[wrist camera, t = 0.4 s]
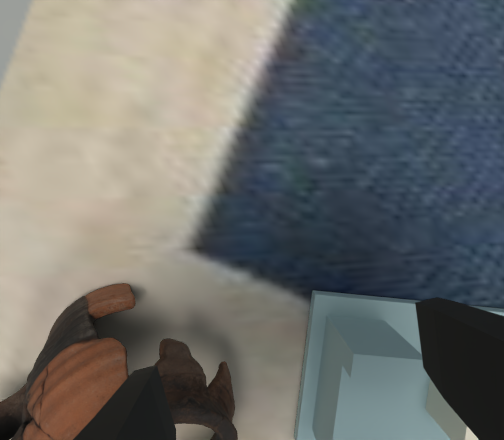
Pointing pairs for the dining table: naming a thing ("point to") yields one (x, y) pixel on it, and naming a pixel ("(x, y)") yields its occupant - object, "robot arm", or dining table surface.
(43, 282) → the dining table surface
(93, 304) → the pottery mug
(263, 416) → the dining table surface
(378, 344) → the stand
